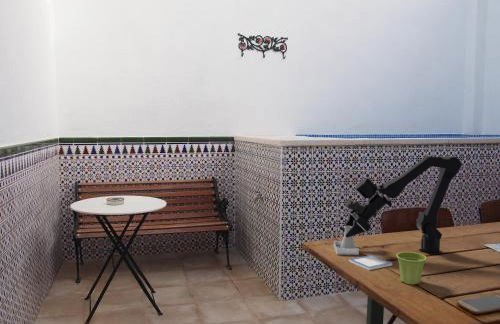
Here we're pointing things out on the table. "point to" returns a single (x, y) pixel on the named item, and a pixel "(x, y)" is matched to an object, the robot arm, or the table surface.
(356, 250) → the grey u-shaped bracket
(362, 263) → the white tile
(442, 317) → the table surface
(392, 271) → the table surface
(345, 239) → the flask
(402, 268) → the plant pot
